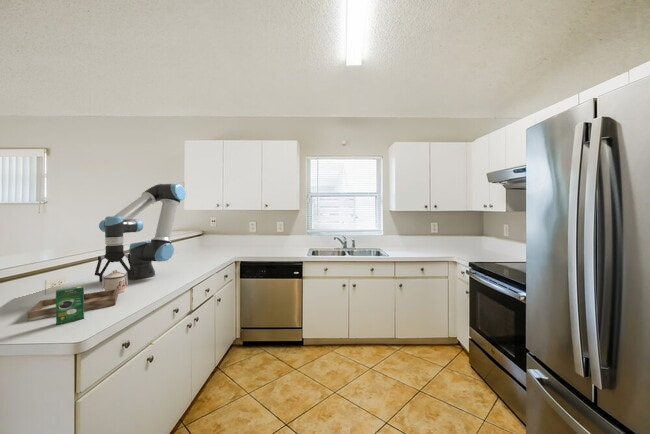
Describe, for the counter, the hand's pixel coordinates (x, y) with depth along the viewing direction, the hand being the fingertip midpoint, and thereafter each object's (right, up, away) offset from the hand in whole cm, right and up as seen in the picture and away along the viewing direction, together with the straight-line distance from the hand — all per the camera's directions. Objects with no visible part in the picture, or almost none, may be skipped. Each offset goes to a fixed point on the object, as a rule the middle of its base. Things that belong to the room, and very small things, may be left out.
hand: (115, 286), depth 138 cm
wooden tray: (+1, -4, -21) cm, 22 cm away
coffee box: (+12, -4, -36) cm, 39 cm away
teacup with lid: (+1, -3, +1) cm, 3 cm away
